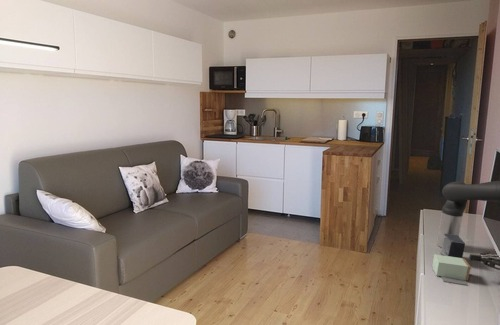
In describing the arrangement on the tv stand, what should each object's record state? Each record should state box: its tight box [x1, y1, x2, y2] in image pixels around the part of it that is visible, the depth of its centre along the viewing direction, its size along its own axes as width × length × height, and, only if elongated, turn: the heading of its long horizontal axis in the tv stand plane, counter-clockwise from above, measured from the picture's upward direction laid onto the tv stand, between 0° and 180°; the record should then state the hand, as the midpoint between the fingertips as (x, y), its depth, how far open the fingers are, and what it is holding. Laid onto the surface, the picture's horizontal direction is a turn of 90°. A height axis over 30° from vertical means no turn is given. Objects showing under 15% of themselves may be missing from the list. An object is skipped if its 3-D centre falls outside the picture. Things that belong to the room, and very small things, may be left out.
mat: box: [440, 276, 469, 286], centre depth 161 cm, size 14×9×1 cm, turn 167°
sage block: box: [431, 253, 471, 281], centre depth 161 cm, size 8×6×12 cm
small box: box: [440, 233, 466, 258], centre depth 176 cm, size 11×6×10 cm, turn 168°
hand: (470, 257), depth 159 cm, fingers closed
